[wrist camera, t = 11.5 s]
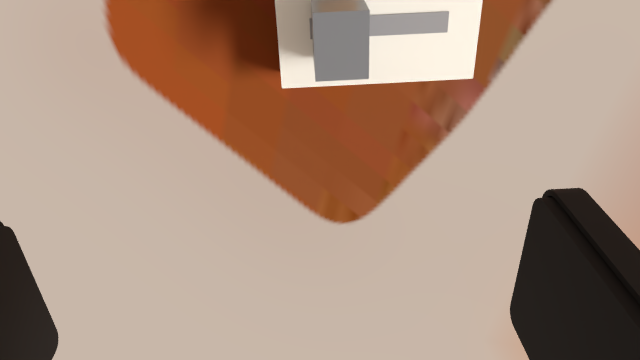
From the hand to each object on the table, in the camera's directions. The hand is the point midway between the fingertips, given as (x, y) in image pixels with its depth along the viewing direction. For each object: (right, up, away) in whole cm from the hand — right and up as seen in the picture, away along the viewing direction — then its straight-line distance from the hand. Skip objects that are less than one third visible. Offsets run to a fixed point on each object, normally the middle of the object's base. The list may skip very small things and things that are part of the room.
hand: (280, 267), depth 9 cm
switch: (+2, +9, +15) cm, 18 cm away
